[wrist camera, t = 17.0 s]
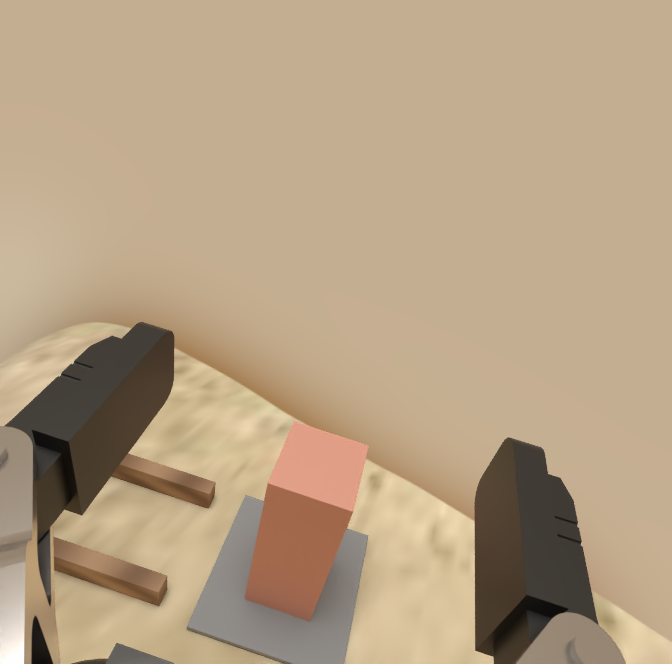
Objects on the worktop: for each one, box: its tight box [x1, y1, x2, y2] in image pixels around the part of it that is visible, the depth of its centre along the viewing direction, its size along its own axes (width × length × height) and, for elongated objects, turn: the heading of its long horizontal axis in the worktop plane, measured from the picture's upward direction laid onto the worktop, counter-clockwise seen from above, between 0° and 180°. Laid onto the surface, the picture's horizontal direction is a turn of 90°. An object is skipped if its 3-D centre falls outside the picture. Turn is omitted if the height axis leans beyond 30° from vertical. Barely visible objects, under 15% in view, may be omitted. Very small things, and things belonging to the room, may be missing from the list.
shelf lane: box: [53, 454, 216, 606], centre depth 38 cm, size 16×9×5 cm, turn 76°
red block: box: [245, 421, 368, 622], centre depth 34 cm, size 5×5×14 cm
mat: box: [187, 495, 368, 664], centre depth 38 cm, size 11×11×1 cm
